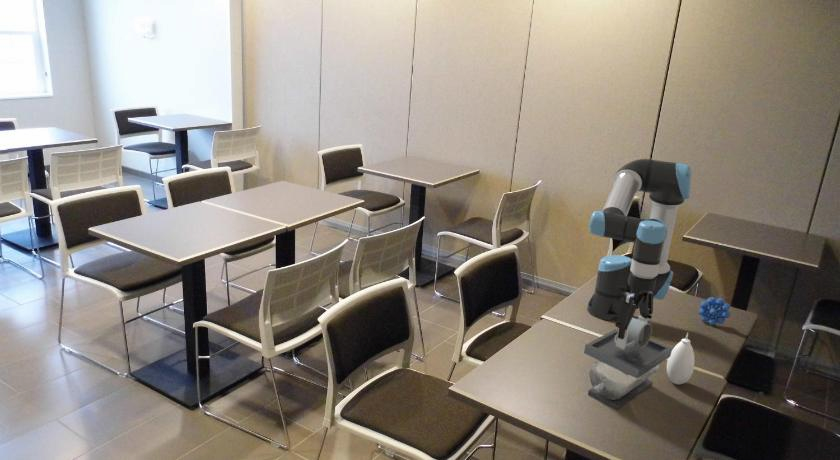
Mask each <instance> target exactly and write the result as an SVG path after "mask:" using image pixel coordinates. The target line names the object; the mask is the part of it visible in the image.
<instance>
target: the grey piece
mask: <svg viewBox="0 0 840 460" xmlns="http://www.w3.org/2000/svg"><path fill="white" fill-rule="evenodd" d="M616 335H617V328H614V329H613V330H612V331H611V330H610V332H609V331H608V332H607V333H606V334H603V335H601V336H600V337H598V338H595V339H594V340H592V341H590V342H588V343H587V344H585V345H584V349H583V350H584V351H583V352H584V353H583V354H584V355H587V356H589V357H591V358H593V359H595V360H596V361H595V362H593V364H591V366H590V367H589V368H590V369H589V374H588V375H589V380H590V383H591V386H592V388H590V389H589V390H588V392H587V395H588V396H590V397H592V398H593V399H595V400H597V401H599V402H601V403H603V404H605V405H606V406H609V407H611V408H613V409H614V410H616V411H618V410H620V409H622V408H623V407H624V406H626V405H627V404H628V403H630V402H632V401H633V400H634V399H636V398H637V397H638V396H640V395H641V394H643V393H644V392H646V391H647V390H648V389H650V388H651V387H652V386H653V383H654V381H652V380H649V379H650V378H652V377H653V376H654V375H656V374H657V372H658V370H659V367H660V364H662V363H663V362H665V361H666V360H668V358H669V357H670V356H671V352H672V350H673V348H672V347H670V346H667V345H665V344H663V343H660V342H658V341H655V340H654V339H651V338H650V340H649V342H648V343H647V345H646V346H644V347H643V348H639V347H637V346H635V345H634V346H632V347H631V348H628V349H624V350H623V349H621V348H619V347H617V346H616V344H615V336H616ZM626 344H629V342H626Z"/></svg>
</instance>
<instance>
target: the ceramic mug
mask: <svg viewBox="0 0 840 460" xmlns="http://www.w3.org/2000/svg"><path fill="white" fill-rule="evenodd" d="M616 329H617V335H618V330H619V328H618V327H616ZM628 329H629V331H628V336H627V342H629V344H626V347H625V349H628V348H631V347H632V346H634V345H635V346H637V347H639V348H643V347H644V346H646V345H647V343H648V342H649V340H650V339H651V337H652V334H653V327H652V324H651V323H649V322H648V321H647V322H644V321H641V320H638V318H635V317H632V319H631V322H630V324H629V326H628ZM617 335H616V336H615V344H616V341H617Z"/></svg>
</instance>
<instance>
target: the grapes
mask: <svg viewBox="0 0 840 460" xmlns="http://www.w3.org/2000/svg"><path fill="white" fill-rule="evenodd" d="M699 305H700V308H699V309H698V311H697V313H698V314H699V316H701V318H700V319H701V321H702V322H703V323H707V322H708V324H709V325H710V326H715V325H717V324H719V325H722V324H723V325H724V323H725V322H726V319H728V318H730V316H731V313H730V311H729V310H730V308H731V305H730V304H729V303H726V302H725V300H724V298H721V297H718V298H715V297H713V296H710V297H708V298H707V300H704V301H701V302H700V304H699Z"/></svg>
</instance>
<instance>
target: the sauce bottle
mask: <svg viewBox="0 0 840 460" xmlns="http://www.w3.org/2000/svg"><path fill="white" fill-rule="evenodd" d="M688 337H689V332H687V333H686V335H685V338H682V339H681V340H680V341H679V342H678V343H677V344H675V346H674V347H673V348H672V352H671V356H670V357H669V358H668V359H667V362H666V373H667V378H668V379H669V380H670V381H671V382H672V383H673V384H674V385H682V384H685V383H687V382H688V381H689V380H690V378H691V377H692V376H693V373H694V369H695V364H696V363H695V359H696V358H695V353H694V348H693V346H692V344H691V340H690V339H688Z"/></svg>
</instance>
